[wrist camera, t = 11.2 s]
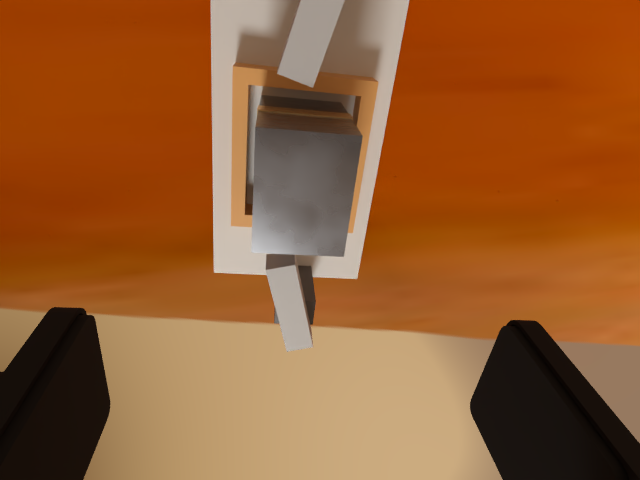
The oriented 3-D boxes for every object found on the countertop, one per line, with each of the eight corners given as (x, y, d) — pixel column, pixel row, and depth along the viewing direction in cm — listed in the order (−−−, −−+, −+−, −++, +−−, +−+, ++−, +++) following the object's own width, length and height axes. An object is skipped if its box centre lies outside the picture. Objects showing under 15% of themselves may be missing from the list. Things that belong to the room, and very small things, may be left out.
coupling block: (256, 195, 26) (250, 253, 20) (260, 93, 23) (253, 125, 17) (329, 200, 27) (344, 257, 21) (342, 101, 24) (364, 134, 18)
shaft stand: (351, 288, 32) (367, 353, 26) (216, 282, 30) (201, 349, 24) (412, -52, 21) (463, -73, 15) (213, -82, 20) (186, -118, 14)
